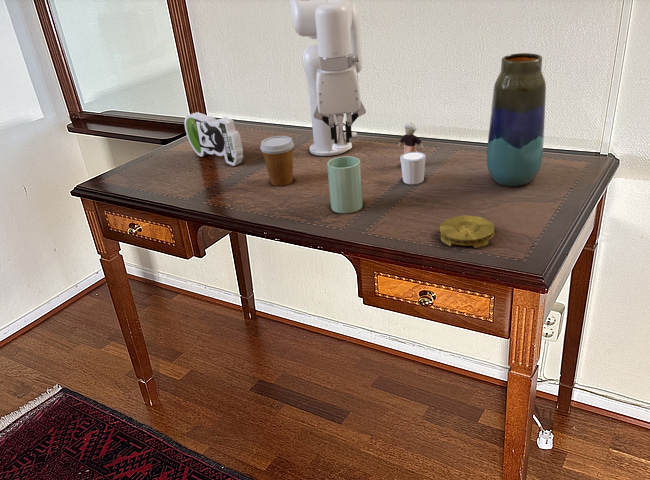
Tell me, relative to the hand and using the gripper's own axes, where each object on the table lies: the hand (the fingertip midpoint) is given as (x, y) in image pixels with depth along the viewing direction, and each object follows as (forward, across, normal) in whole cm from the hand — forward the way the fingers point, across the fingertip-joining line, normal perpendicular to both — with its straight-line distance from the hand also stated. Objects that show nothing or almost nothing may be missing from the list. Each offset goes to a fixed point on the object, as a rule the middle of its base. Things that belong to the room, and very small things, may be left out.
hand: (341, 140), depth 154 cm
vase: (+18, -44, -7) cm, 48 cm away
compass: (+18, -26, +22) cm, 39 cm away
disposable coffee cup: (+18, +18, -21) cm, 33 cm away
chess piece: (+2, 0, 0) cm, 2 cm away
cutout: (+18, +40, -45) cm, 63 cm away
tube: (+17, 0, 0) cm, 17 cm away
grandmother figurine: (+18, -20, -24) cm, 36 cm away
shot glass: (+18, -19, -13) cm, 29 cm away
